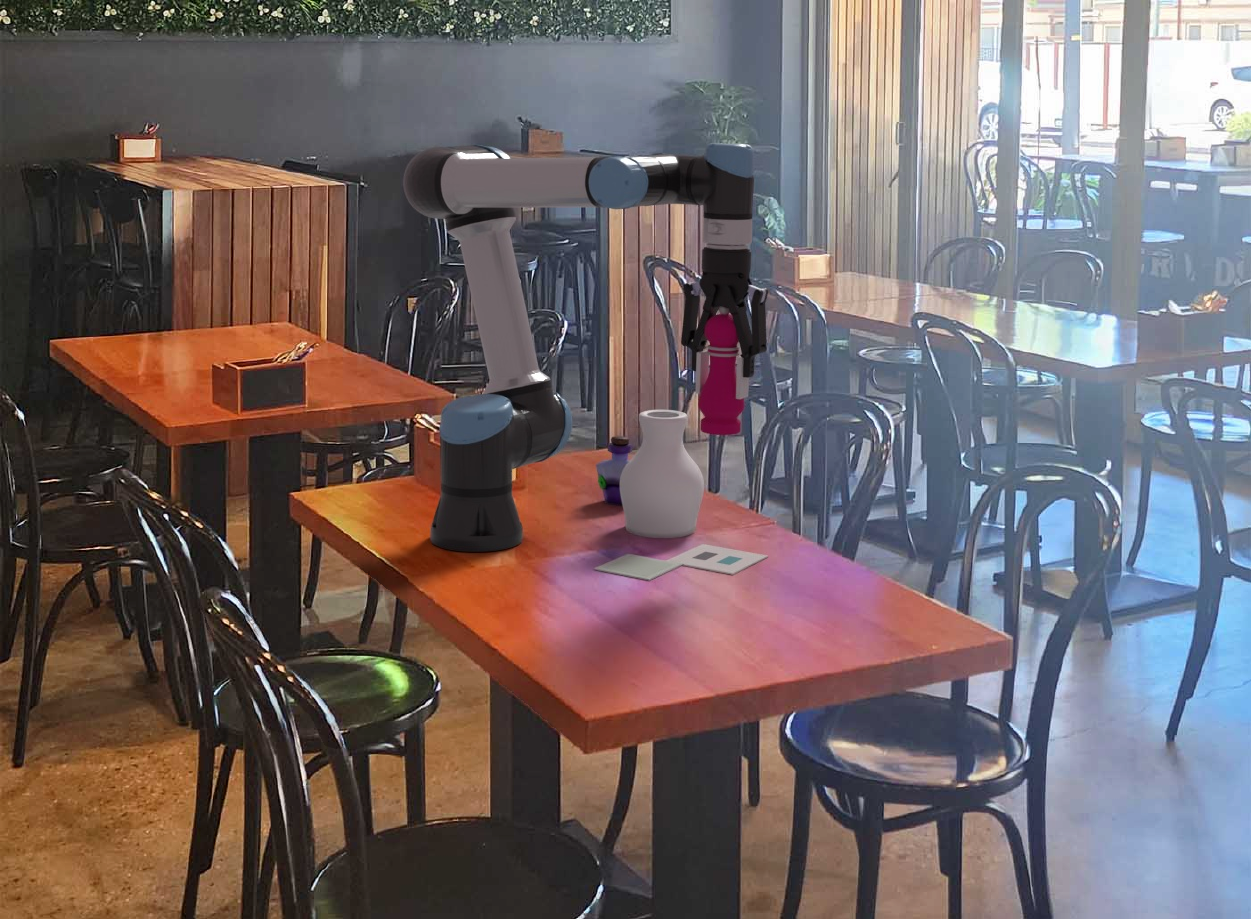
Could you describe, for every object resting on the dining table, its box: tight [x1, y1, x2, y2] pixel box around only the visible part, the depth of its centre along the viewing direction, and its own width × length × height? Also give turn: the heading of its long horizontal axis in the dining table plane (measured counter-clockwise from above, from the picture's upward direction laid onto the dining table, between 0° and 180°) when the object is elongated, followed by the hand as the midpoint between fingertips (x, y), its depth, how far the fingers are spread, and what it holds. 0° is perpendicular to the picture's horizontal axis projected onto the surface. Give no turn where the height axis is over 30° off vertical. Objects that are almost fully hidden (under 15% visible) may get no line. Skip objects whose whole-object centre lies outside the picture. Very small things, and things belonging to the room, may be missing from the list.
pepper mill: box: [697, 306, 746, 436], centre depth 250 cm, size 7×7×20 cm
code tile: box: [665, 543, 769, 576], centre depth 257 cm, size 12×12×1 cm
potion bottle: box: [595, 435, 633, 506], centre depth 291 cm, size 9×9×12 cm
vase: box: [620, 409, 705, 539], centre depth 272 cm, size 14×14×20 cm
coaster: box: [593, 553, 683, 582], centre depth 252 cm, size 10×10×1 cm
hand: (721, 394), depth 251 cm, fingers closed on pepper mill, 6 cm apart
